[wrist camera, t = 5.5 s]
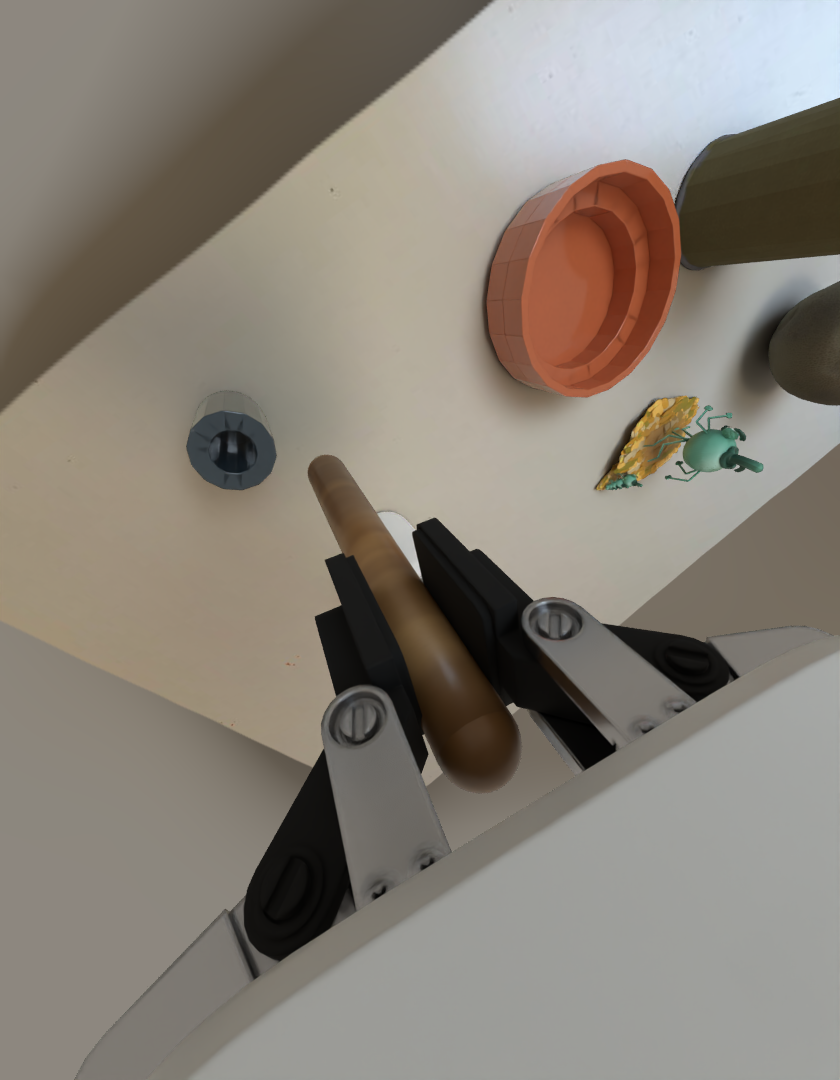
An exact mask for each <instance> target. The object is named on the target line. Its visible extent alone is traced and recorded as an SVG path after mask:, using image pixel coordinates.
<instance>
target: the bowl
mask: <svg viewBox="0 0 840 1080" xmlns="http://www.w3.org/2000/svg"><path fill="white" fill-rule="evenodd" d="M680 260H681V242H680V223H679V217H678V214H677V211H676V208H675V205H674V202H673V199H672V196H671V193H670V191H669V189H668V188H667V186H666V185H665V184H664V183H663V181H662V180H661V179H660V178H659V177H658V175H657V174H656V173H655V172H654V171H653V169H651V168H648V167H646V166H643V165H640V164H638V163H635V162H632V161H630V160H626V159H625V160H620V161H615V162H610V163H605V164H600V165H597V166H594V167H592V168H589V169H587V170H584V171H582V172H579V173H577V174H574V175H572V176H569V177H567V178H564V179H562V180H559V181H557V182H554V183H552V184H550V185H549V186H547V187H546V188H545V189H543V190H542V191H540V192H539V193H538V194H536V195H535V196H534V197H532V198H531V199H529V200H528V201H527V202H526V203H525V204H524V206H523V207H522V208H521V210H520V211H519V213H518V214H517V215H516V217H515V218H514V219H513V221H512V222H511V224H510V225H509V226H508V228H507V229H506V231H505V233H504V235H503V238H502V240H501V243H500V245H499V248H498V250H497V253H496V255H495V258H494V261H493V263H492V267H491V274H490V280H489V287H488V294H487V314H488V325H489V333H490V337H491V340H492V342H493V345H494V348H495V350H496V353H497V356H498V359H499V361H500V362H501V363H502V364H503V366H504V367H505V368H506V369H507V370H508V372H509V373H510V374H511V375H512V377H513V378H515V379H516V380H518V381H520V382H522V383H524V384H526V385H528V386H530V387H531V388H535V389H539V390H543V391H547V392H551V393H555V394H559V395H563V396H567V397H589V396H592V395H595V394H598V393H600V392H603V391H606V390H609V389H610V388H612V387H613V386H614V385H616V384H617V383H618V382H620V381H621V380H622V379H624V378H625V377H626V376H628V375H629V374H630V373H631V372H632V371H633V370H634V369H635V367H636V366H637V365H638V364H639V363H640V361H641V360H642V359H643V358H644V357H645V355H646V354H647V353H648V352H649V350H650V348H651V347H652V345H653V343H654V341H655V339H656V338H657V336H658V334H659V332H660V330H661V328H662V327H663V325H664V323H665V321H666V318H667V315H668V312H669V309H670V306H671V303H672V300H673V297H674V294H675V291H676V286H677V280H678V273H679V266H680Z"/></svg>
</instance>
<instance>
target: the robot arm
mask: <svg viewBox="0 0 840 1080" xmlns="http://www.w3.org/2000/svg"><path fill="white" fill-rule="evenodd" d="M412 537H413V541H414V546H415V550H416V554H417V558H418V563H419V567H420V571H421V576H422V580H423V583H424V585H425V586H426V588H427V589H428V591H429V592H430V594H431V595H432V597H433V598H434V600H435V601H436V603H437V604H438V606H439V607H440V609H441V610H442V612H443V613H444V615H445V616H446V618H447V619H448V621H449V622H450V624H451V625H452V627H453V628H454V630H455V631H456V633H457V634H458V636H459V637H460V639H461V640H462V642H463V643H464V645H465V646H466V648H467V649H468V651H469V652H470V654H471V655H472V657H473V658H474V660H475V661H476V663H477V664H478V666H479V667H480V669H481V670H482V672H483V673H484V674H485V676H486V677H487V679H488V680H489V682H490V683H491V685H492V686H493V688H494V689H495V691H496V692H497V694H498V695H499V697H500V698H501V700H502V701H503V703H504V704H505V706H507V705H509V704H511V703H513V702H514V704H515V705H516V706H517V707H521V708H525V709H527V711H528V713H529V715H530V716H531V718H532V719H533V721H534V722H535V723H536V724H537V726H538V727H539V728H540V730H541V731H542V732H543V733H544V735H545V736H546V738H547V739H548V740H549V742H550V743H551V744H552V746H553V747H554V748H555V750H556V751H557V752H558V754H559V755H560V756H561V757H562V758H563V760H564V761H565V763H566V764H567V765H568V767H569V768H570V769H571V771H572V772H573V773H574V775H575V777H574V778H572V779H570V780H569V781H567V782H565V783H564V784H562V785H561V786H559V787H557V788H556V789H554V790H552V791H551V792H549V793H547V794H546V795H544V796H543V797H541V798H539V799H538V800H536V801H535V802H533V803H531V804H529V805H528V806H526V807H525V808H523V809H521V810H520V811H518V812H516V813H515V814H513V815H511V816H510V817H508V818H507V819H505V820H504V821H502V822H500V823H498V824H497V825H495V826H494V827H492V828H490V829H489V830H487V831H486V832H484V833H482V834H481V835H479V836H478V837H476V838H474V839H473V840H471V841H469V842H468V843H466V844H464V845H463V846H461V847H460V848H458V849H457V850H455V851H453V852H451V849H450V847H449V844H448V842H447V839H446V836H445V834H444V831H443V829H442V826H441V824H440V821H439V819H438V816H437V814H436V811H435V809H434V806H433V804H432V801H431V799H430V796H429V794H428V791H427V788H426V786H425V783H424V781H423V778H422V776H421V773H422V771H423V768H424V765H425V762H426V759H427V757H428V751H427V748H426V745H425V742H424V739H423V736H422V735H424V732H423V730H422V726H421V720H422V713H421V710H420V706H419V703H418V700H417V697H416V694H415V690H414V687H413V684H412V681H411V678H410V675H409V671H408V668H407V665H406V662H405V659H404V656H403V654H402V651H401V649H400V647H399V645H398V642H397V640H396V638H395V636H394V634H393V632H392V630H391V628H390V626H389V625H388V623H387V621H386V619H385V617H384V615H383V613H382V611H381V609H380V607H379V605H378V603H377V601H376V599H375V597H374V595H373V593H372V591H371V589H370V587H369V585H368V583H367V581H366V579H365V577H364V575H363V573H362V571H361V569H360V567H359V565H358V563H357V561H356V559H355V557H354V555H351V556H349V557H346V556H345V554H344V553H342V554H339V555H337V556H334V557H331V558H329V559H326V560H325V562H326V565H327V567H328V570H329V573H330V575H331V578H332V581H333V583H334V586H335V589H336V591H337V594H338V596H339V599H340V602H341V604H342V605H341V606H339V607H336V608H334V609H332V610H329V611H327V612H324V613H322V614H320V615H317V616H315V621H316V625H317V628H318V632H319V636H320V639H321V643H322V646H323V650H324V654H325V657H326V661H327V665H328V668H329V672H330V676H331V679H332V683H333V686H334V690H335V694H336V698H335V699H334V700H333V701H332V702H331V703H330V704H329V706H328V708H327V709H326V711H325V713H324V716H323V719H322V722H321V735H322V740H323V745H324V749H323V751H322V753H321V755H320V756H319V758H318V760H317V762H316V763H315V765H314V767H313V769H312V771H311V772H310V774H309V776H308V778H307V780H306V781H305V783H304V785H303V787H302V788H301V790H300V792H299V794H298V796H297V798H296V799H295V801H294V803H293V804H292V806H291V808H290V810H289V812H288V813H287V815H286V817H285V819H284V820H283V822H282V824H281V826H280V828H279V829H278V831H277V833H276V835H275V836H274V839H273V840H272V842H271V844H270V846H269V847H268V849H267V851H266V853H265V855H264V856H263V858H262V860H261V861H260V863H259V865H258V867H257V869H256V870H255V873H254V875H253V877H252V879H251V882H250V884H249V887H248V889H247V894H246V896H245V897H244V898H243V899H242V900H241V901H240V902H239V903H238V904H237V905H236V906H235V907H234V908H233V909H232V910H231V911H228V910H226V909H225V910H224V911H223V912H222V913H221V914H220V915H219V916H218V917H217V918H216V919H215V920H214V921H213V922H212V923H211V924H210V925H209V926H208V927H207V929H205V930H204V931H203V933H201V934H200V936H199V937H198V938H197V939H196V940H195V941H194V942H193V943H192V944H191V945H190V946H189V947H188V948H187V949H186V950H185V951H184V952H183V953H182V954H181V955H180V956H179V957H178V958H177V959H176V960H175V961H174V962H173V964H172V965H171V966H170V967H169V968H168V969H167V970H166V971H165V972H164V973H163V974H162V975H161V976H160V977H159V978H158V979H157V980H156V981H155V982H154V983H153V984H152V985H151V986H150V987H149V988H148V989H147V991H146V992H145V993H144V994H143V995H142V996H141V997H140V998H139V999H138V1000H137V1001H136V1002H135V1003H134V1004H133V1005H132V1006H131V1007H130V1008H129V1009H128V1010H127V1011H126V1012H125V1013H124V1014H123V1015H122V1017H120V1019H119V1020H118V1021H117V1022H116V1023H115V1024H114V1025H113V1026H112V1027H111V1028H110V1029H109V1030H108V1031H107V1032H106V1033H105V1034H104V1035H103V1037H102V1038H101V1039H100V1040H99V1042H98V1043H97V1044H96V1046H95V1047H94V1048H93V1049H92V1051H91V1052H90V1053H89V1054H88V1056H87V1057H86V1058H85V1060H84V1062H83V1064H82V1066H81V1068H80V1070H79V1072H78V1073H77V1075H76V1077H75V1079H74V1080H840V635H838V636H834V635H831V634H829V633H826V632H824V631H822V630H819V629H815V628H811V627H806V626H786V627H779V628H771V629H764V630H756V631H749V632H741V633H734V634H726V635H720V636H712V637H707V638H706V641H705V642H701V641H699V640H696V639H694V638H690V637H686V636H682V635H676V634H669V633H662V632H656V631H648V630H642V629H635V628H628V627H621V626H615V625H608V624H602V623H600V622H599V621H598V620H597V619H595V618H594V617H593V616H592V615H590V614H589V613H588V612H587V611H586V610H584V609H583V608H582V607H581V606H579V605H577V604H576V603H574V602H572V601H569V600H567V599H564V598H556V597H549V598H542V599H539V600H536V601H533V600H532V599H531V598H530V597H529V596H528V595H527V594H526V593H525V592H524V591H523V590H522V589H521V588H520V587H519V586H518V585H517V584H515V583H514V582H513V581H512V580H511V579H510V578H509V577H508V576H507V575H506V574H505V573H504V572H503V571H502V570H501V569H500V568H499V567H498V566H497V565H496V564H495V563H494V562H492V561H491V560H490V559H489V558H488V557H487V556H486V555H485V554H484V553H483V552H482V551H480V550H479V549H475V550H473V551H469V550H468V549H467V548H466V547H465V546H464V545H463V544H462V543H461V542H460V541H459V540H458V539H457V538H456V537H455V536H454V535H453V534H452V533H451V532H450V531H449V530H448V529H447V528H446V527H445V526H444V525H443V524H442V523H441V522H440V521H439V520H438V519H437V518H432V519H430V520H427V521H425V522H422V523H419V524H417V530H415V531H413V532H412Z"/></svg>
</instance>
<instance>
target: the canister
mask: <svg viewBox="0 0 840 1080" xmlns="http://www.w3.org/2000/svg"><path fill="white" fill-rule="evenodd" d="M675 208H676V211H677V214H678V217H679V223H680V242H681V260H680V262H681V264H683V265H684V266H685V267H686V268H688V269H691V270H701V269H704V268H707V267H710V266H718V265H728V264H739V263H750V262H761V261H772V260H783V259H794V258H805V257H816V256H827V255H838V254H840V98H838V99H835V100H832V101H829V102H827V103H824V104H821V105H818V106H815V107H812V108H810V109H807V110H804V111H801V112H798V113H795V114H793V115H790V116H787V117H784V118H781V119H778V120H776V121H773V122H770V123H767V124H764V125H761V126H759V127H756V128H753V129H750V130H747V131H744V132H742V133H739V134H731V135H724V136H722V137H719V138H718V139H716V140H714V141H713V142H711V143H710V144H709V145H708V146H707V147H706V148H705V149H704V151H703V152H702V153H701V154H700V155H699V156H698V157H697V158H696V160H695V161H694V163H693V165H692V166H691V168H690V170H689V171H688V173H687V175H686V177H685V179H684V182H683V184H682V187H681V189H680V192H679V194H678V197H677V201H676V206H675Z"/></svg>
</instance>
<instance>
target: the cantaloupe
mask: <svg viewBox="0 0 840 1080" xmlns="http://www.w3.org/2000/svg"><path fill="white" fill-rule="evenodd" d="M769 366H770V370H771V372H772V375H773V376H774V378H775V380H776V381H777V383H778V384H779V385H780V386H781V387H782V388H783V389H784V390H785V391H787V392H788V393H790V394H792V395H794V396H796V397H798V398H801V399H803V400H807V401H810V402H814V403H818V404H825V405H840V281H839V282H837V283H835V284H833V285H831V286H829V287H827V288H825V289H822V290H820V291H818V292H816V293H814V294H812V295H810V296H809V297H807V298H805V299H804V300H802V301H801V302H800V303H798V304H797V305H796V306H795V307H794V308H793V309H791V310H790V311H789V312H788V313H787V314H786V315H785V317H784V318H783V319H782V321H781V322H780V324H779V325H778V327H777V329H776V331H775V332H774V334H773V336H772V338H771V341H770V345H769Z"/></svg>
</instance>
